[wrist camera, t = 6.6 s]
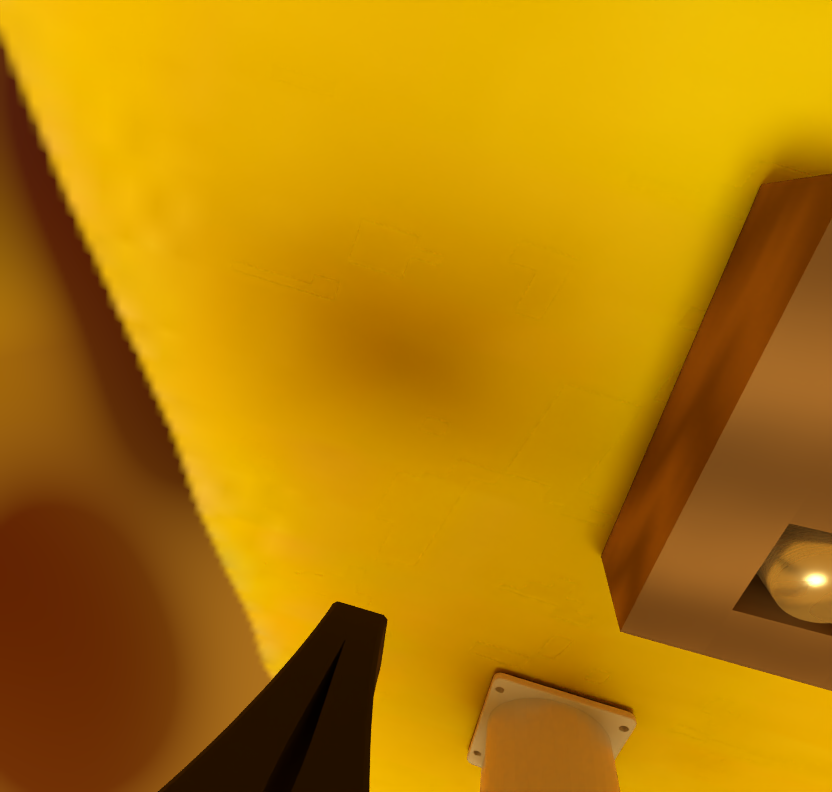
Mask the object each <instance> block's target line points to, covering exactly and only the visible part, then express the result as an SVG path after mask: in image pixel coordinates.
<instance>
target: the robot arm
mask: <svg viewBox="0 0 832 792" xmlns="http://www.w3.org/2000/svg"><path fill="white" fill-rule="evenodd" d="M386 626H387V619H386V617H385V616H384V615H382V614H378V613H375V612H371V611H368V610H365V609H361V608H358V607H355V606H351V605H348V604H345V603H341V602H335V603H333V604H332V606H331V607H330V609H329V610H328V612H327V613H326V615H325V616H324V617H323V619H322V620H321V621H320V623H319V624H318V625H317V627H316V628H315V629H314V631H313V632H312V633H311V634H310V636H309V637H308V638H307V639H306V641H305V642H304V643H303V644H302V645H301V647H300V648H299V649H298V650H297V652H296V653H295V654H294V655H293V656H292V657H291V659H290V660H289V661H288V662H287V663H286V664H285V665H284V667H283V668H282V669H281V670H280V671H279V672H278V674H277V675H276V676H275V677H274V678H273V679H272V680H271V682H270V683H269V684H268V685H267V686H266V687H265V688H264V689H263V690H262V691H261V692H260V694H259V695H258V696H257V697H256V698H255V699H254V700H253V701H252V702H251V703H250V704H249V705H248V706H247V707H246V708H245V709H244V710H243V711H242V712H241V714H239V716H238V717H237V718H236V719H235V720H234V721H233V722H232V723H231V724H230V725H229V726H228V727H227V728H226V729H225V730H224V731H223V732H222V733H221V734H220V735H219V736H218V737H217V738H216V739H215V740H214V741H213V742H212V743H211V744H209V746H207V747H206V749H204V750H203V751H202V752H201V753H200V754H199V755H198V756H197V757H196V758H195V759H194V760H193V761H191V762H190V763H189V764H188V765H187V766H186V767H185V768H184V769H183V770H182V771H181V772H180V773H178V774H177V775H176V776H175V777H174V778H173V779H172V780H171V781H169V782H168V783H167V784H166V785H165V786H164V787H163V788H162V789H160V791H158V792H369V776H370V742H371V723H372V709H373V697H374V692H375V687H376V683H377V679H378V675H379V671H380V667H381V661H382V654H383V647H384V640H385V633H386ZM636 724H637V723H636V719H635V716H634V715H633V714H632V713H630V712H628V711H625V710H622V709H618V708H615V707H612V706H609V705H605V704H602V703H599V702H596V701H592V700H589V699H586V698H583V697H579V696H576V695H573V694H569V693H566V692H563V691H560V690H556V689H553V688H550V687H547V686H543V685H540V684H537V683H534V682H530V681H527V680H524V679H521V678H517V677H514V676H511V675H508V674H504V673H497V674H495V675H494V676H493V679H492V682H491V685H490V688H489V691H488V694H487V697H486V700H485V703H484V706H483V709H482V712H481V715H480V718H479V721H478V724H477V727H476V730H475V732H474V735H473V738H472V741H471V744H470V747H469V750H468V755H467V760H468V761H469V763H471V764H473V765H475V766H478V767H481V768H482V769H481V784H480V792H620V788H619V783H618V778H617V772H616V767H615V761H614V760H615V759H616V757H617V755H618V754H619V752H620V751H621V749H622V747H623V746H624V744H625V743H626V741H627V739H628V738H629V736H630V735H631V733H632V732H633V730H634V728H635V727H636Z"/></svg>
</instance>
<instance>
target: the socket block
mask: <svg viewBox="0 0 832 792" xmlns="http://www.w3.org/2000/svg"><path fill="white" fill-rule="evenodd" d="M789 524H794V525H798V526H803V527H807V528H811V529H816V530H820V531H824V532H829V533H832V174H827V175H820V176H813V177H807V178H800V179H793V180H787V181H780V182H773V183H767V184H762V185H761V187H760V189H759V192H758V194H757V196H756V199H755V201H754V203H753V206H752V208H751V210H750V212H749V215H748V217H747V219H746V222H745V224H744V226H743V229H742V231H741V233H740V236H739V238H738V240H737V243H736V245H735V247H734V250H733V252H732V254H731V257H730V259H729V261H728V263H727V266H726V268H725V270H724V273H723V275H722V277H721V280H720V282H719V284H718V287H717V289H716V291H715V294H714V296H713V298H712V301H711V303H710V305H709V308H708V310H707V312H706V314H705V317H704V319H703V321H702V324H701V326H700V328H699V331H698V333H697V335H696V338H695V340H694V342H693V345H692V347H691V349H690V352H689V354H688V356H687V359H686V361H685V363H684V365H683V368H682V370H681V372H680V375H679V377H678V379H677V382H676V384H675V386H674V389H673V391H672V393H671V396H670V398H669V400H668V403H667V405H666V407H665V410H664V412H663V414H662V416H661V419H660V421H659V423H658V426H657V428H656V430H655V433H654V435H653V437H652V440H651V442H650V444H649V447H648V449H647V451H646V454H645V456H644V458H643V461H642V463H641V465H640V467H639V470H638V472H637V474H636V477H635V479H634V481H633V484H632V486H631V488H630V491H629V493H628V495H627V498H626V500H625V502H624V505H623V507H622V509H621V512H620V514H619V516H618V518H617V521H616V523H615V525H614V528H613V530H612V532H611V535H610V537H609V539H608V542H607V544H606V546H605V549H604V551H603V553H602V556H601V558H602V562H603V565H604V569H605V573H606V577H607V581H608V585H609V589H610V593H611V597H612V601H613V605H614V609H615V613H616V617H617V620H618V624H619V628H620V632H624V633H627V634H631V635H634V636H638V637H641V638H645V639H649V640H652V641H656V642H659V643H663V644H666V645H670V646H674V647H677V648H681V649H684V650H688V651H691V652H695V653H699V654H702V655H706V656H709V657H713V658H716V659H720V660H724V661H727V662H731V663H734V664H738V665H741V666H745V667H748V668H752V669H756V670H759V671H763V672H766V673H770V674H773V675H777V676H781V677H784V678H788V679H791V680H795V681H798V682H802V683H806V684H809V685H813V686H816V687H820V688H823V689H827V690H831V691H832V623H815V622H809V621H804V620H801V619H798V618H795V617H793V616H791V615H789V614H788V613H786V612H785V611H783V610H782V609H781V608H780V607H779V605H778V604H777V603H776V601H775V600H774V598H773V597H772V595H771V594H770V593H769V591H768V590H767V588H766V587H765V585H764V584H763V582H762V581H761V579H760V578H759V576H758V575H757V574H756V573H757V571H758V570H759V568H760V567H761V565H762V564H763V562H764V561H765V559H766V558H767V556H768V555H769V553H770V552H771V550H772V549H773V547H774V546H775V544H776V543H777V541H778V540H779V538H780V537H781V535H782V534H783V532H784V531H785V529H786V528H787V526H788V525H789Z"/></svg>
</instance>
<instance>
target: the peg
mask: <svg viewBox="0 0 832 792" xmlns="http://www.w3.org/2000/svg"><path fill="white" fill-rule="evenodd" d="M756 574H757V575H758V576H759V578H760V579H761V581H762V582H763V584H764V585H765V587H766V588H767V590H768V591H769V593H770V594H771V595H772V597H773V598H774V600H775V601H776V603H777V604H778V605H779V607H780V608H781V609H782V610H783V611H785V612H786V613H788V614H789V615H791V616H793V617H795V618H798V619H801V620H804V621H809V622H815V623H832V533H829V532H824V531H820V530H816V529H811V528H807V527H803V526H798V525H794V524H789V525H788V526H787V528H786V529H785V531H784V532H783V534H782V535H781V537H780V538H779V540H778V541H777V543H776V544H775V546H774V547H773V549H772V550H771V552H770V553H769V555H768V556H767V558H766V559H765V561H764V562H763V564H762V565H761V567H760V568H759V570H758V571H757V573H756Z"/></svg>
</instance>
